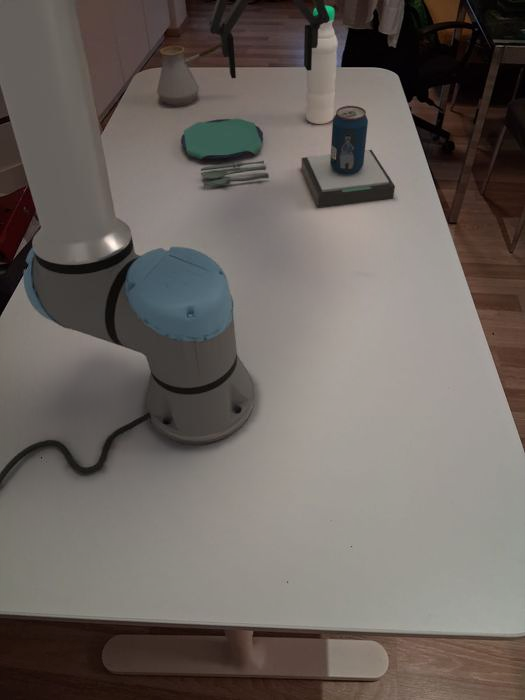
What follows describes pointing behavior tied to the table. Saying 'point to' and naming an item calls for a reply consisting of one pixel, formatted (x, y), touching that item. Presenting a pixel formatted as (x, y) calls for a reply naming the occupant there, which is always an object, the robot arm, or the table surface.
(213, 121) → the cutlery set
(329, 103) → the water bottle
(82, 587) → the table surface
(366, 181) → the scale
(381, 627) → the table surface
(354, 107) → the soda can
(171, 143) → the table surface
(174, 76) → the coffee pot
